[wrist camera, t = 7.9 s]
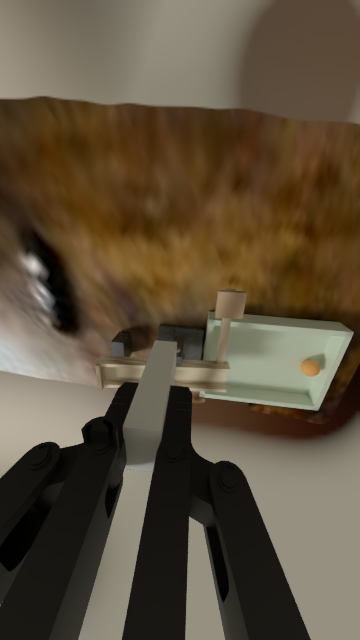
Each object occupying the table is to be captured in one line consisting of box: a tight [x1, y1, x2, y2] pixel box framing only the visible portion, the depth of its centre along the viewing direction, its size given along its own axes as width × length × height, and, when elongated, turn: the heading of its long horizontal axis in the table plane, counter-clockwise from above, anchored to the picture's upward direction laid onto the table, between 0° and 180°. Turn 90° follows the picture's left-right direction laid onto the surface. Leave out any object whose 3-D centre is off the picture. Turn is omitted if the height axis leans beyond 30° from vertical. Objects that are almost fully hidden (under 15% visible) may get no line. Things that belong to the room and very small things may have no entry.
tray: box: [200, 311, 354, 410], centre depth 40 cm, size 24×18×4 cm
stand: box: [111, 325, 204, 364], centre depth 39 cm, size 18×10×9 cm, turn 87°
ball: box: [301, 360, 320, 377], centre depth 39 cm, size 3×3×3 cm
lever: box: [95, 289, 247, 392], centre depth 33 cm, size 22×18×3 cm
